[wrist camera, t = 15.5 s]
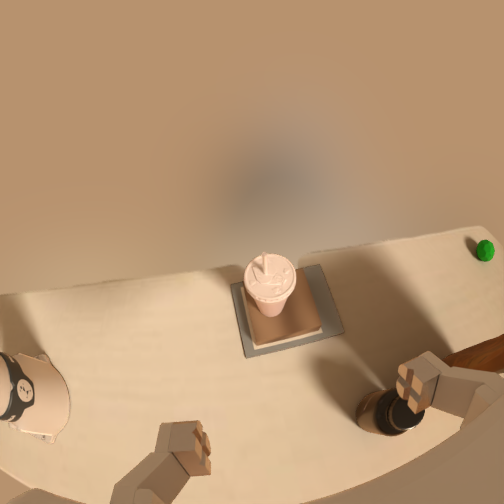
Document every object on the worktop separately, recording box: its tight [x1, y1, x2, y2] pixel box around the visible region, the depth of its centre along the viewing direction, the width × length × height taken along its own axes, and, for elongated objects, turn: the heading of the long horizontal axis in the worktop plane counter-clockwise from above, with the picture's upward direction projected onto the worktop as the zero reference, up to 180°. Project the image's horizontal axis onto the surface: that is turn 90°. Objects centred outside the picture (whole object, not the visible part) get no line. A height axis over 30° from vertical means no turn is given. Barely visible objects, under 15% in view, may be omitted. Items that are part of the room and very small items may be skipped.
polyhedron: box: [476, 240, 495, 262], centre depth 44 cm, size 5×5×5 cm
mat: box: [231, 264, 344, 358], centre depth 44 cm, size 16×13×1 cm
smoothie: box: [244, 252, 296, 317], centre depth 35 cm, size 6×6×14 cm
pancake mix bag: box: [442, 334, 504, 374], centre depth 23 cm, size 7×19×28 cm, turn 104°
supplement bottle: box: [356, 388, 425, 436], centre depth 28 cm, size 7×7×12 cm
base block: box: [242, 268, 322, 346], centre depth 42 cm, size 10×10×3 cm
